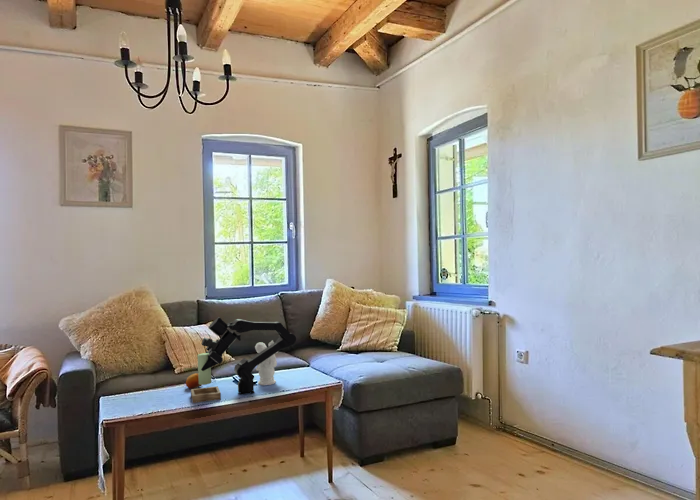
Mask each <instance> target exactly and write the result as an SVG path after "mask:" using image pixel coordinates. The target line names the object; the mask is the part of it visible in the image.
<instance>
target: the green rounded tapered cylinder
mask: <svg viewBox="0 0 700 500" xmlns="http://www.w3.org/2000/svg"><path fill="white" fill-rule="evenodd" d="M208 355H209V353H206V352H203V353H199V354H197V371H198V372H197V373H198V378H199V384H200V385H202V386H204V385H210V384H212V367H210V368H208V369H206V370H204V371H202V370H201V369H202V367H203V366H204V364H205V363H206V361H207V359H208Z"/></svg>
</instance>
